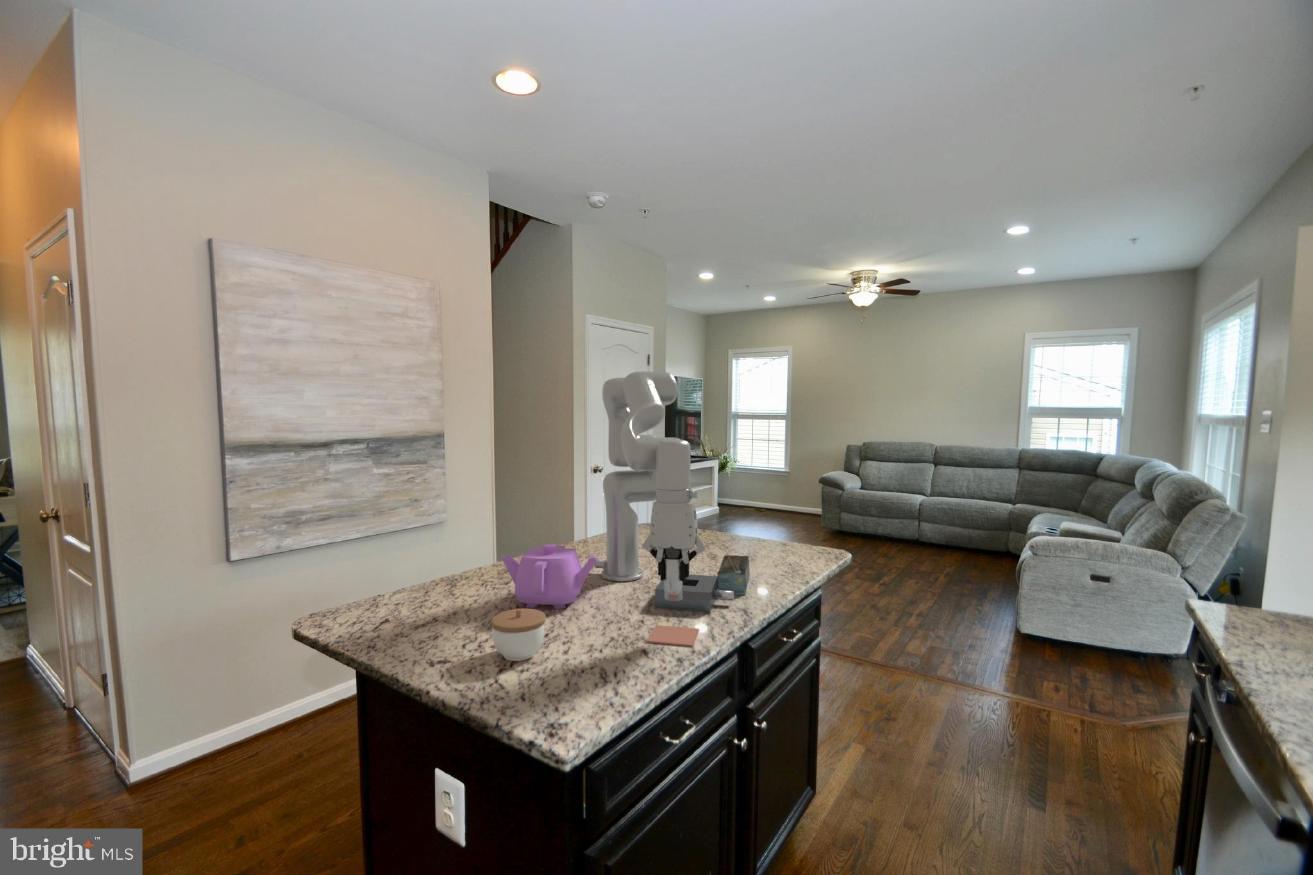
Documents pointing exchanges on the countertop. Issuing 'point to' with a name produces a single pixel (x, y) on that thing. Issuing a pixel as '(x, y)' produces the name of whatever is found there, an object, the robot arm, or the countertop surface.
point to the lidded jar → (518, 633)
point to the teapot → (548, 575)
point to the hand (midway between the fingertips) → (673, 578)
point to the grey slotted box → (693, 594)
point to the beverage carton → (734, 574)
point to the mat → (673, 635)
